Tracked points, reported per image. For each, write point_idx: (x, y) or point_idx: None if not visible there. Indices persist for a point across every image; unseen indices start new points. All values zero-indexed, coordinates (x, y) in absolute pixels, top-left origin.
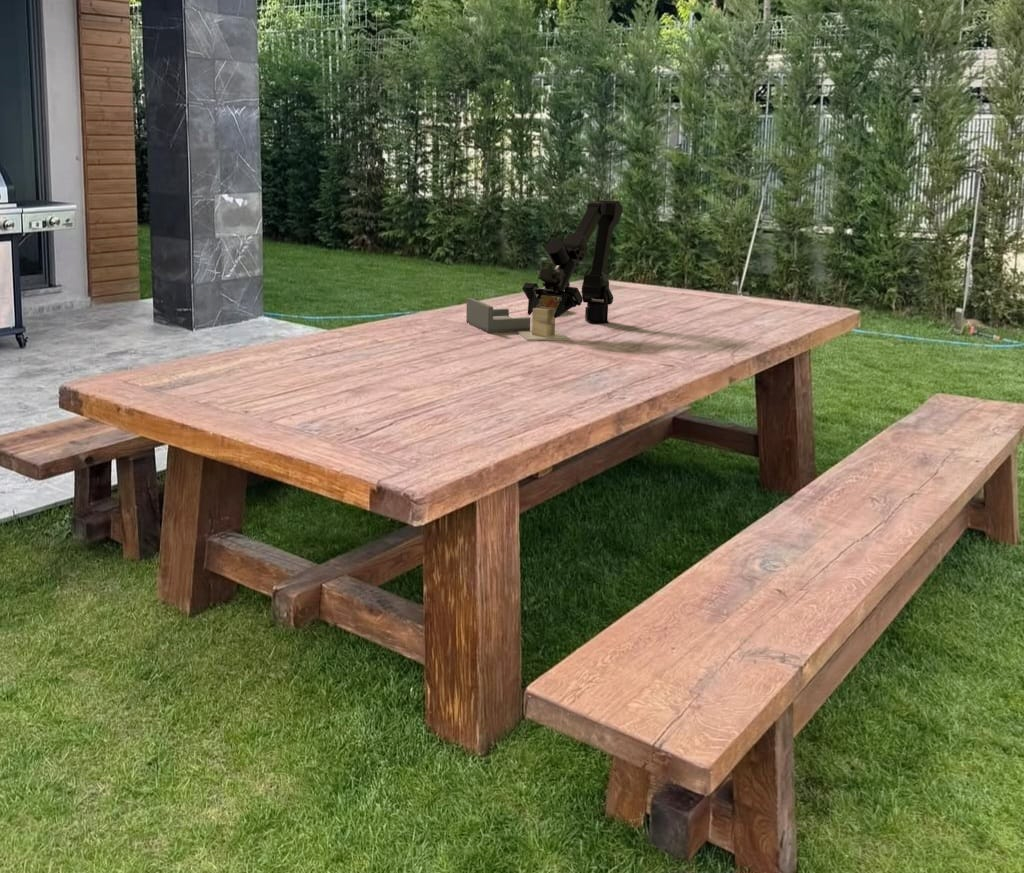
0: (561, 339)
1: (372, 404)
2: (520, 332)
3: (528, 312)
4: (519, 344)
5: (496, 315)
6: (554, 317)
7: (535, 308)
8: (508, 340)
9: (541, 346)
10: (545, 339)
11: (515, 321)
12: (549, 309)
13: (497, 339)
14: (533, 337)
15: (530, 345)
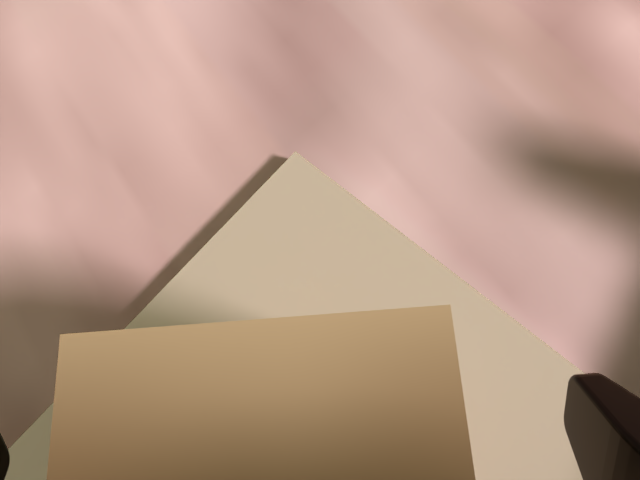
0: (43, 422)
1: None
2: None
3: (581, 376)
4: (262, 14)
5: None
6: (2, 439)
7: (406, 356)
8: (443, 75)
9: (76, 67)
10: (169, 287)
11: None
12: (57, 476)
13: (544, 46)
14: (295, 251)
15: (169, 41)
